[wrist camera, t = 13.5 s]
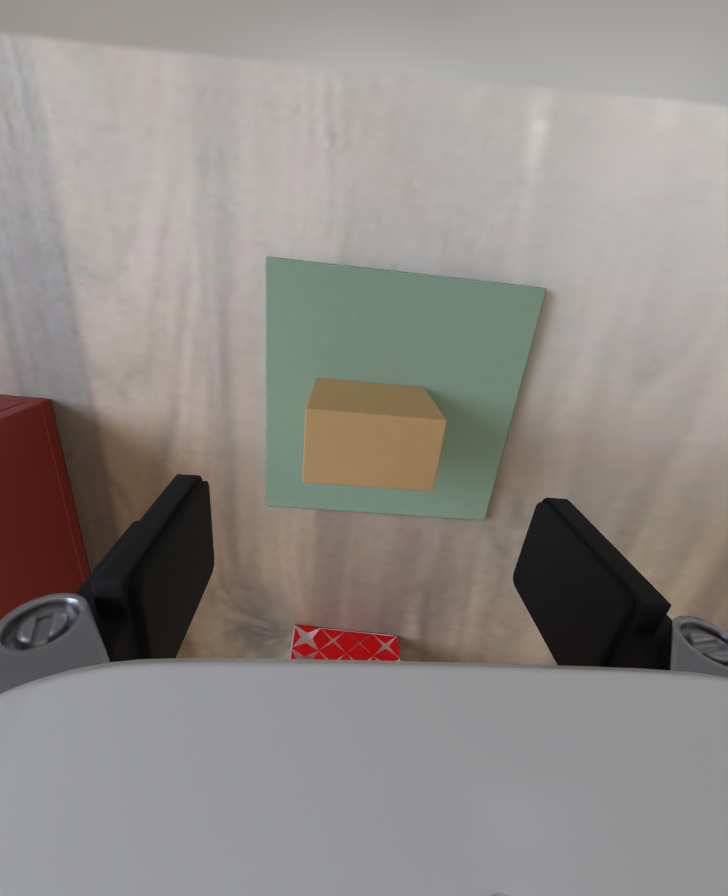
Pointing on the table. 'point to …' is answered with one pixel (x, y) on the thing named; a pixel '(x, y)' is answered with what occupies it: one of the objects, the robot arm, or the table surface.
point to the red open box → (35, 507)
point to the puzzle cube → (342, 645)
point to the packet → (372, 435)
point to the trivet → (395, 373)
